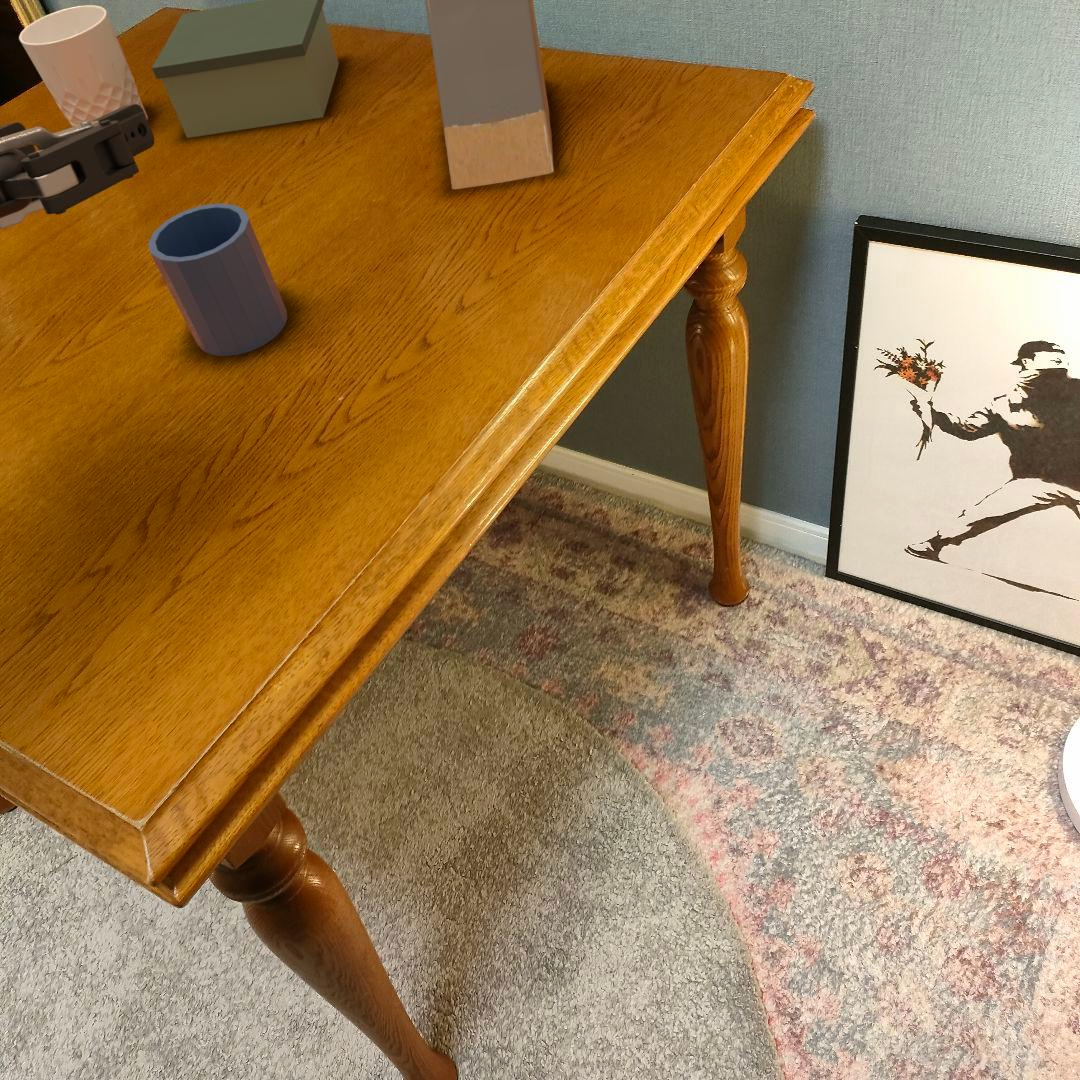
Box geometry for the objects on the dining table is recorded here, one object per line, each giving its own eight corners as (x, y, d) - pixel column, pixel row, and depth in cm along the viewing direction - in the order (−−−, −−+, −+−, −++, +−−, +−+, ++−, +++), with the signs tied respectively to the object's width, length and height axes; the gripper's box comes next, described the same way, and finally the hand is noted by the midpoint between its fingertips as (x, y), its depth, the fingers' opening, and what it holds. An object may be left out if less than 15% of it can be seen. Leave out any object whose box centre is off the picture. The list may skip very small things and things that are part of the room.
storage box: (184, 144, 92) (151, 67, 87) (211, 86, 100) (182, 13, 95) (327, 122, 91) (301, 43, 85) (343, 65, 98) (321, -10, 93)
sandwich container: (449, 197, 79) (400, -4, 68) (451, 107, 89) (409, -81, 78) (557, 179, 78) (526, -27, 67) (546, 90, 88) (518, -102, 77)
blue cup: (189, 365, 69) (137, 266, 63) (209, 308, 74) (162, 210, 68) (280, 354, 68) (236, 253, 62) (295, 296, 73) (256, 197, 67)
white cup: (94, 161, 93) (38, 51, 85) (62, 138, 97) (6, 32, 90) (169, 124, 95) (120, 15, 88) (134, 103, 100) (85, -2, 92)
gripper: (-94, 141, 39) (156, 40, 51) (-320, 176, 44) (-45, 77, 56) (3, 320, 43) (213, 188, 55) (-212, 332, 48) (21, 210, 60)
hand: (83, 132), depth 55 cm, fingers open, 8 cm apart
